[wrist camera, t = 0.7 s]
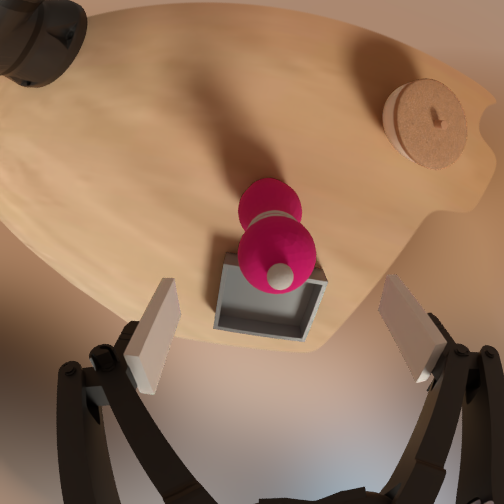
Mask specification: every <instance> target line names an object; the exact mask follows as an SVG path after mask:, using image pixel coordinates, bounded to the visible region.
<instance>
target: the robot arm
mask: <svg viewBox="0 0 504 504" xmlns="http://www.w3.org/2000/svg"><path fill="white" fill-rule="evenodd" d="M86 29H87V16H86V13H85V11H84V9H83V8H82V7H81V6H80V5H78V4H77V3H75V2H72V1H70V0H0V75H4V76H5V77H7V78H9V79H11V80H12V81H14V82H16V83H17V84H19V85H21V86H24V87H35V88H37V87H43V86H46V85H48V84H50V83H52V82H53V81H55V80H56V79H57V78H58V77H60V76H61V75H62V74H63V73H64V72H65V71H66V69H67V68H68V67H69V66H70V64H71V63H72V62H73V60H74V59H75V57H76V55H77V54H78V52H79V50H80V48H81V46H82V43H83V41H84V38H85V34H86ZM378 311H379V313H380V314H381V316H382V318H383V320H384V322H385V324H386V325H387V327H388V329H389V331H390V333H391V335H392V337H393V338H394V340H395V342H396V344H397V346H398V348H399V350H400V351H401V354H402V356H403V358H404V360H405V362H406V364H407V366H408V368H409V370H410V372H411V374H412V376H413V378H414V380H415V382H416V383H418V382H422V381H426V380H428V378H429V376H430V375H431V373H432V374H433V376H434V379H433V381H432V382H431V384H430V386H429V387H428V389H427V391H429V392H428V395H427V398H426V401H425V403H424V406H423V409H422V412H421V414H420V416H419V419H418V421H417V424H416V426H415V429H414V431H413V433H412V436H411V438H410V440H409V442H408V444H407V447H406V449H405V451H404V453H403V455H402V457H401V459H400V461H399V463H398V465H397V467H396V469H395V471H394V473H393V474H392V476H391V478H390V480H389V481H388V483H387V484H386V485H385V487H384V488H383V489H382V490H381V492H380V493H376V492H369V491H365V487H361V488H356V489H351V490H347V491H340V492H338V493H335V494H333V495H330V496H328V497H325V498H322V499H319V500H317V501H307V500H298V499H290V498H272V499H259V503H256V504H434V502H435V499H436V497H437V495H438V493H439V490H440V488H441V485H442V483H443V481H444V478H445V475H446V470H445V469H444V464H445V461H446V458H447V456H448V453H449V450H450V447H451V444H452V440H453V437H454V434H455V430H456V426H457V423H458V419H459V415H460V411H461V407H462V449H461V463H460V473H459V481H458V488H457V496H456V504H504V374H503V369H502V365H501V361H500V357H499V354H498V351H497V350H496V349H495V348H494V347H492V346H488V345H485V346H483V347H482V349H481V350H480V352H470V351H469V349H468V348H467V347H466V346H464V345H462V344H456V343H455V342H454V340H453V339H452V337H451V336H450V335H449V333H448V332H447V330H446V329H445V328H444V326H443V325H442V324H441V322H440V321H439V319H438V318H437V317H436V316H434V315H433V314H432V313H426V312H425V310H424V309H423V308H422V306H421V305H420V303H419V302H418V301H417V300H416V298H415V297H414V296H413V294H412V293H411V292H410V290H409V289H408V288H407V287H406V285H405V284H404V283H403V281H402V280H401V279H400V278H399V276H398V275H397V274H394V275H387V276H386V280H385V284H384V289H383V293H382V297H381V301H380V305H379V308H378ZM180 316H181V311H180V306H179V301H178V295H177V290H176V284H175V278H162V280H161V282H160V284H159V286H158V287H157V289H156V291H155V293H154V295H153V297H152V299H151V301H150V302H149V304H148V306H147V308H146V310H145V312H144V314H143V316H142V318H141V320H140V321H130V322H129V323H128V324H127V325H126V326H125V327H124V329H123V331H122V332H121V335H120V336H119V338H118V340H117V342H116V343H115V345H114V347H113V346H111V345H109V344H102V345H98V346H96V347H94V348H93V349H92V350H91V352H90V354H89V359H90V361H91V363H92V365H93V367H88V368H82V367H81V365H80V364H79V363H78V362H76V361H69V362H66V363H65V364H63V365H62V366H61V367H60V369H59V372H58V385H57V450H58V463H59V473H60V482H61V489H62V495H63V501H64V504H121V503H120V499H119V496H118V492H117V488H116V484H115V480H114V476H113V471H112V467H111V463H110V457H109V452H108V447H107V441H106V435H105V429H104V422H103V414H102V406H104V405H110V406H111V409H112V411H113V413H114V415H115V417H116V419H117V421H118V423H119V425H120V427H121V429H122V431H123V433H124V435H125V437H126V439H127V441H128V443H129V444H130V446H131V448H132V450H133V451H134V453H135V455H136V457H137V458H138V460H139V462H140V464H141V465H142V467H143V469H144V470H145V471H146V473H147V475H148V476H149V478H150V480H151V481H152V483H153V484H154V486H155V487H156V488H157V490H158V492H159V493H160V494H161V496H162V497H163V501H164V502H165V504H218V503H217V502H216V501H215V500H214V499H213V498H212V497H211V496H210V494H209V493H208V492H207V491H206V490H205V489H204V487H203V486H202V485H201V484H200V483H199V482H198V481H197V480H196V479H195V478H194V476H193V475H192V474H191V473H190V471H189V470H188V469H187V467H186V466H185V465H184V464H183V462H182V461H181V460H180V458H179V457H178V456H177V454H176V453H175V451H174V450H173V449H172V447H171V446H170V444H169V443H168V442H167V440H166V439H165V437H164V436H163V434H162V433H161V431H160V430H159V428H158V427H157V425H156V424H155V422H154V420H153V419H152V417H151V416H150V414H149V412H148V411H147V409H146V407H145V406H144V404H143V403H142V401H141V399H140V397H139V396H138V394H137V392H136V388H137V387H138V389H139V391H140V393H145V394H152V395H154V394H155V392H156V388H157V386H158V382H159V379H160V376H161V373H162V370H163V366H164V364H165V360H166V357H167V354H168V351H169V348H170V345H171V342H172V339H173V337H174V334H175V331H176V328H177V325H178V322H179V319H180Z"/></svg>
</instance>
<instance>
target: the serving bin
mask: <svg viewBox="0 0 504 504" xmlns="http://www.w3.org/2000/svg"><path fill="white" fill-rule="evenodd" d="M327 283H328V281H327V278H326V276H325V273H324V271H323V269H317V268H314V269H313V271H312V273H311V275H310V276H309V278H308V279H307V280H306V281H305V282H304V283H303V284H302V285H301V286H300V287H298V288H297V289H295V290H293V291H291V292H288V293H284V294H271V293H266V292H263V291H260V290H258V289H257V288H255V287H253V286H252V285H251V284H250V283H249V282H248V281H247V280H246V278H245V277H244V276H243V274H242V272H241V270H240V267H239V263H238V254H234V253H229V252H226V255H225V260H224V264H223V270H222V276H221V283H220V289H219V295H218V301H217V308H216V314H215V320H214V327H213V329H218V330H224V331H230V332H236V333H242V334H248V335H255V336H262V337H269V338H276V339H284V340H292V341H301V342H305V340H306V337H307V335H308V332H309V330H310V327H311V325H312V323H313V320H314V318H315V315H316V312H317V310H318V307H319V305H320V302H321V300H322V297H323V294H324V292H325V289H326V286H327Z"/></svg>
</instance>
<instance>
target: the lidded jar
mask: <svg viewBox="0 0 504 504" xmlns="http://www.w3.org/2000/svg"><path fill="white" fill-rule="evenodd" d="M382 120H383V127H384V131H385V133H386V136H387V138H388V139H389V141H390V143H391V144H392V146H393V147H394V148H395V149H396V150H397V151H398V152H399V153H400V154H401V155H403V156H404V157H405V158H407V159H409V160H411V161H412V162H415V163H417V164H419V165H421V166H423V167H426V168H429V169H434V170H439V169H444V168H447V167H449V166H451V165H452V164H453V163H455V162H456V161H457V160H458V158H459V157H460V155H461V154H462V152H463V150H464V148H465V144H466V140H467V121H466V116H465V113H464V110H463V107H462V105H461V103H460V101H459V100H458V98H457V97H456V95H455V94H454V93H453V92H452V91H451V90H450V89H449V88H448V87H447V86H445V85H444V84H442V83H440V82H439V81H436V80H433V79H418V80H415V81H412V82H410V83H407V84H404V85H402V86H400V87H398V88H397V89H396V90H394V91H393V92H392V93H391V94H390V96H389V97H388V99H387V101H386V102H385V105H384V108H383V114H382Z"/></svg>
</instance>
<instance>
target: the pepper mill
mask: <svg viewBox="0 0 504 504" xmlns="http://www.w3.org/2000/svg"><path fill="white" fill-rule="evenodd" d="M238 214H239V220H240V223H241V225H242V228H243V229H244V230H245V233H244V234H243V235H242V238H241V240H240V242H239V248H238V263H239V267H240V270H241V272H242V274H243V276H244V277H245V278H246V280H247V281H248V282H249V283H250V284H251V285H252V286H253V287H255V288H257V289H258V290H260V291H263V292H266V293H271V294H284V293H288V292H291V291H293V290H295V289H297V288H298V287H300V286H301V285H302V284H303V283H304V282H305V281H306V280H307V279H308V278H309V276H310V275H311V273H312V271H313V269H314V266H315V262H316V249H315V244H314V241H313V238H312V237H311V235H310V233H309V232H308V230H307V229H306V228H305V227H304V226H303V225H302V224H301V223H300V221H301V217H302V207H301V203H300V200H299V198H298V196H297V194H296V193H295V191H294V190H293V189H292V188H291V187H290V186H288V185H287V184H285V183H283V182H281V181H279V180H277V179H273V178H264V179H260V180H258V181H256V182H254V183H253V184H252V185H251V186H250V187H249V188H248V189H247V190H246V191H245V192H244V194H243V195H242V197H241V199H240V202H239V207H238Z"/></svg>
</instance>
